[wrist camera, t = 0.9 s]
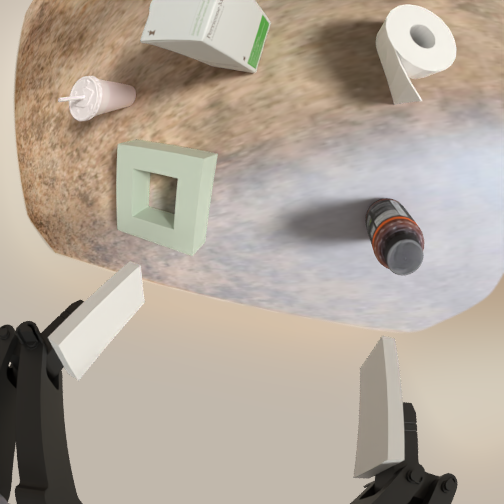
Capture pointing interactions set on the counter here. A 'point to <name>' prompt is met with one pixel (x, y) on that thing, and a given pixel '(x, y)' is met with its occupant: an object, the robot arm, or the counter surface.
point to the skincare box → (210, 31)
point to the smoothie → (98, 97)
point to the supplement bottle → (395, 237)
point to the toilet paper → (413, 49)
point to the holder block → (187, 197)
